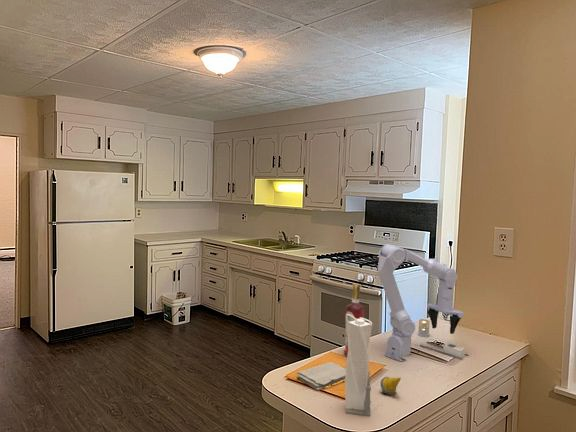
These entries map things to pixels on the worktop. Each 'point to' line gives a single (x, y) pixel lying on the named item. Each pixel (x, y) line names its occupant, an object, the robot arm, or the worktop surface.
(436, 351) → the board
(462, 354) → the block
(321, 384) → the washcloth
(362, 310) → the liquor
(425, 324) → the marbled round peg
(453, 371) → the worktop surface
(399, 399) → the worktop surface
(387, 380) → the yellow pear
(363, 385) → the skyscraper
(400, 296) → the robot arm
